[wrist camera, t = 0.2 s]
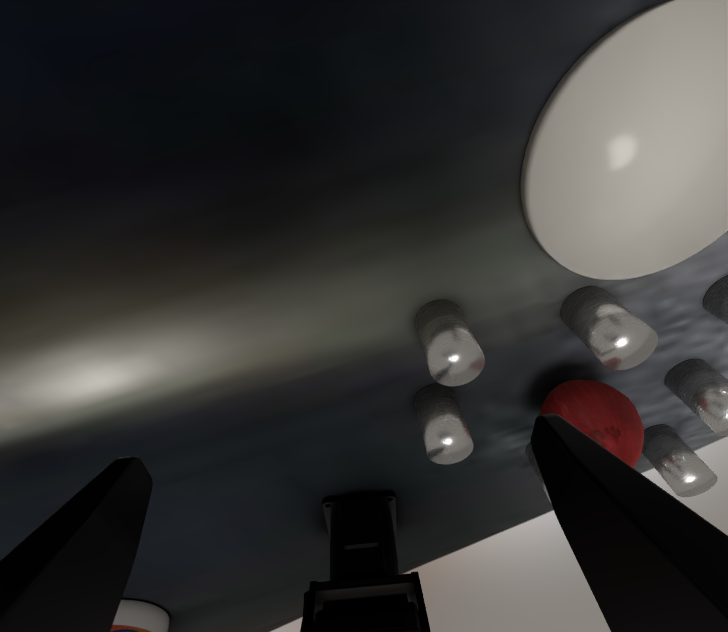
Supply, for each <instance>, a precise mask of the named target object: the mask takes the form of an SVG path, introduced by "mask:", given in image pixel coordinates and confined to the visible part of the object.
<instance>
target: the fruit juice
mask: <svg viewBox="0 0 728 632" xmlns="http://www.w3.org/2000/svg"><path fill="white" fill-rule="evenodd" d="M168 627H169V616H168V614H167V613H166V612H165V611H164V610H163V609H161V608H160V607H158V606H155V605H153V604H150V603H146V602H141V601H135V600H121V602H120V604H119V607H118V610H117V613H116V616H115V619H114V622H113V625H112V628H111V630H110V632H168Z"/></svg>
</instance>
